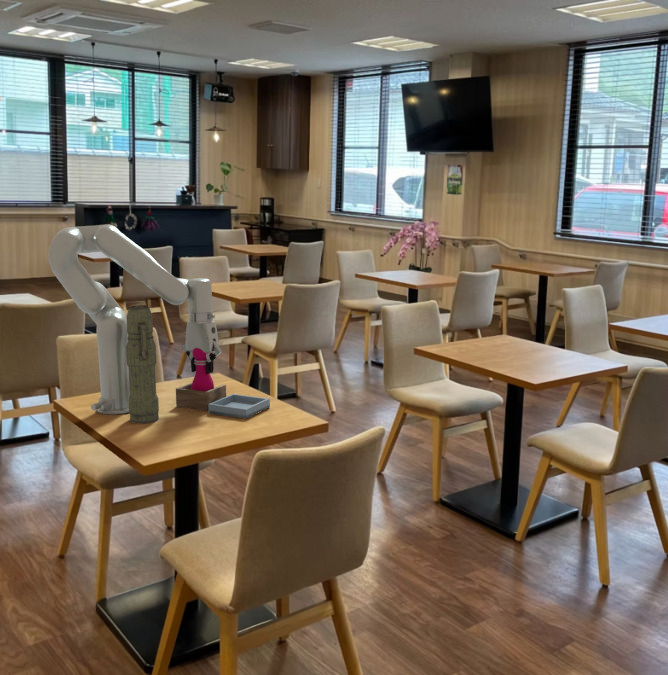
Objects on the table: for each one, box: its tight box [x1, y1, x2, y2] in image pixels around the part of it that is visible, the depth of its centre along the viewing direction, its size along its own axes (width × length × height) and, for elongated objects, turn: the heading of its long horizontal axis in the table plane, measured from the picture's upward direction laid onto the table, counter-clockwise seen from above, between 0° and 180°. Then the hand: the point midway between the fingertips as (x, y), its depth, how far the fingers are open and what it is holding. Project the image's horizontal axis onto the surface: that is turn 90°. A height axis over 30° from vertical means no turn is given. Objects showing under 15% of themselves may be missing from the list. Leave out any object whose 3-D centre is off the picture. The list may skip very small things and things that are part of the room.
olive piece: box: [126, 304, 160, 425], centre depth 243 cm, size 9×12×35 cm
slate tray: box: [208, 393, 271, 420], centre depth 256 cm, size 14×14×3 cm
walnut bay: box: [175, 382, 227, 412], centre depth 262 cm, size 11×12×6 cm
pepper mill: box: [191, 348, 215, 392], centre depth 262 cm, size 7×7×20 cm
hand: (202, 371), depth 262 cm, fingers closed on pepper mill, 5 cm apart
